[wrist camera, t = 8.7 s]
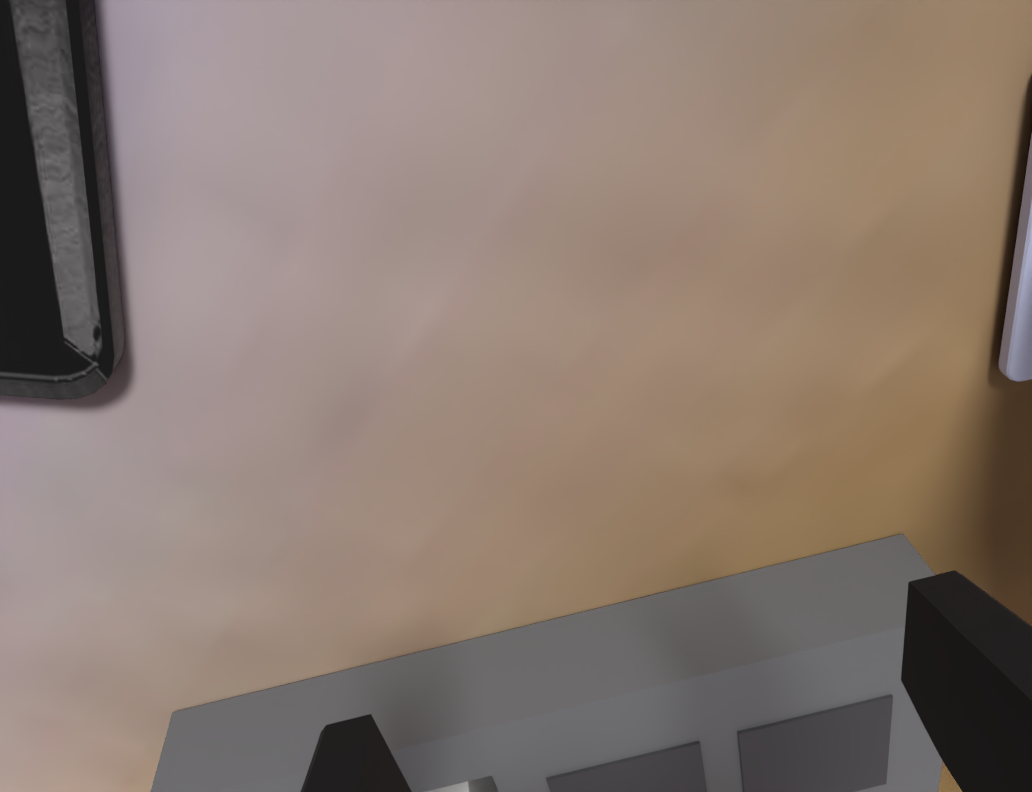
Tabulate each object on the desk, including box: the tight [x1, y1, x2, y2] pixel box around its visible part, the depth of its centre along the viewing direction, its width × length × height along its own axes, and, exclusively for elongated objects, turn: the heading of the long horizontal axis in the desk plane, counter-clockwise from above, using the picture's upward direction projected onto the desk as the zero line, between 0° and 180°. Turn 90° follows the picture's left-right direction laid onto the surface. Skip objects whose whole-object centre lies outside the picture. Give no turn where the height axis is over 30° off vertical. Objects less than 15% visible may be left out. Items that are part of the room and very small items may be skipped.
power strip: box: [151, 534, 943, 792], centre depth 25 cm, size 22×10×3 cm, turn 102°
